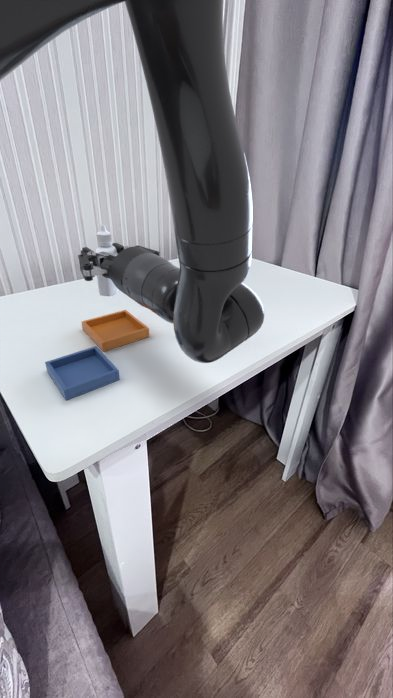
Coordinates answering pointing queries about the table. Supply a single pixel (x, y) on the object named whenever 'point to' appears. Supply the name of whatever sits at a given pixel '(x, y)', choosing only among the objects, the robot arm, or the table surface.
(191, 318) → the robot arm
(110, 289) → the eye dropper bottle
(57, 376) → the blue tray
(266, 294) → the table surface
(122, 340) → the amber tray
